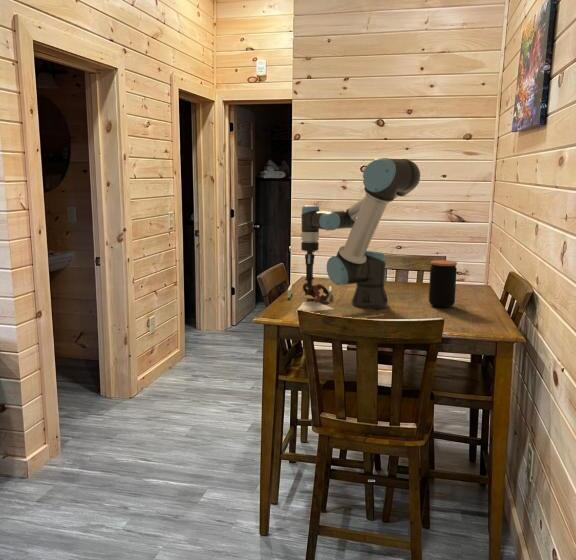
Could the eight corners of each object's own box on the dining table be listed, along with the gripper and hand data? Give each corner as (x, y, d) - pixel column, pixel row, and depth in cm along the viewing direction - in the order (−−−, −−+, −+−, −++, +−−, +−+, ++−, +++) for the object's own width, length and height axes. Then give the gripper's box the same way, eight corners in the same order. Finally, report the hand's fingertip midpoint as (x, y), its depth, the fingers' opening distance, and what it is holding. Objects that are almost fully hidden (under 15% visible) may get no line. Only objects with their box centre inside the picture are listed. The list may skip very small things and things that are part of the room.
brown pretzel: (289, 293, 252) (289, 285, 251) (331, 294, 250) (331, 285, 249) (287, 299, 240) (287, 290, 239) (331, 300, 238) (331, 291, 238)
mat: (334, 309, 222) (334, 308, 222) (298, 313, 215) (298, 312, 215) (315, 301, 236) (315, 301, 236) (281, 304, 229) (281, 304, 229)
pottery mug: (319, 300, 243) (331, 289, 239) (317, 313, 235) (330, 302, 231) (298, 285, 240) (310, 274, 235) (295, 298, 232) (308, 287, 228)
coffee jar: (459, 306, 227) (461, 263, 224) (434, 307, 225) (437, 264, 222) (447, 301, 237) (450, 259, 234) (424, 301, 235) (426, 260, 232)
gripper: (302, 239, 244) (302, 291, 248) (300, 243, 231) (299, 297, 236) (319, 239, 243) (318, 291, 248) (317, 243, 231) (317, 297, 235)
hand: (309, 294), depth 242 cm, fingers closed
